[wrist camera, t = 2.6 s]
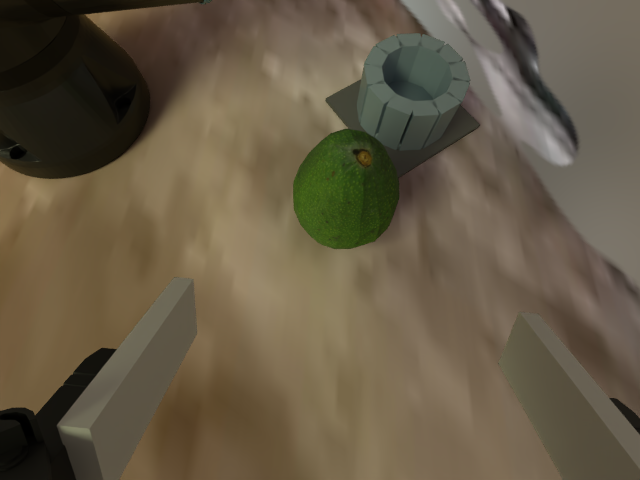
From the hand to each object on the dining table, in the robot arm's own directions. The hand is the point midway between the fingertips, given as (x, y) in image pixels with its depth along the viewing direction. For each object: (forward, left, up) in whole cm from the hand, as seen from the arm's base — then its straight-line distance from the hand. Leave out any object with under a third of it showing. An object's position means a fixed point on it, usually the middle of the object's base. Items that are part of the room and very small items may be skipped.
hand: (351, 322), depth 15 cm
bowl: (-14, +19, -14) cm, 27 cm away
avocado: (-8, +7, -15) cm, 18 cm away
